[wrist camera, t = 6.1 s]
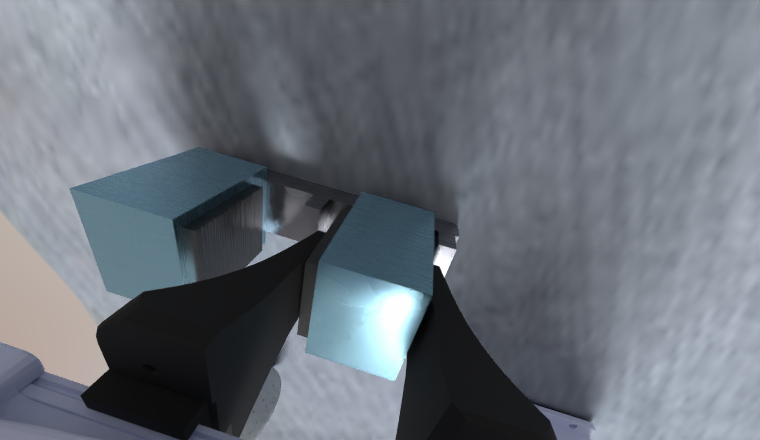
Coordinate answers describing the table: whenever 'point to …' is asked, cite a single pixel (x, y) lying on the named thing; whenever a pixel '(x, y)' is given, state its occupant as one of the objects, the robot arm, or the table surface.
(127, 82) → the table surface
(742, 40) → the table surface
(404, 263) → the teal brushed-finish brick
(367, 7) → the table surface
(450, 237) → the rail
